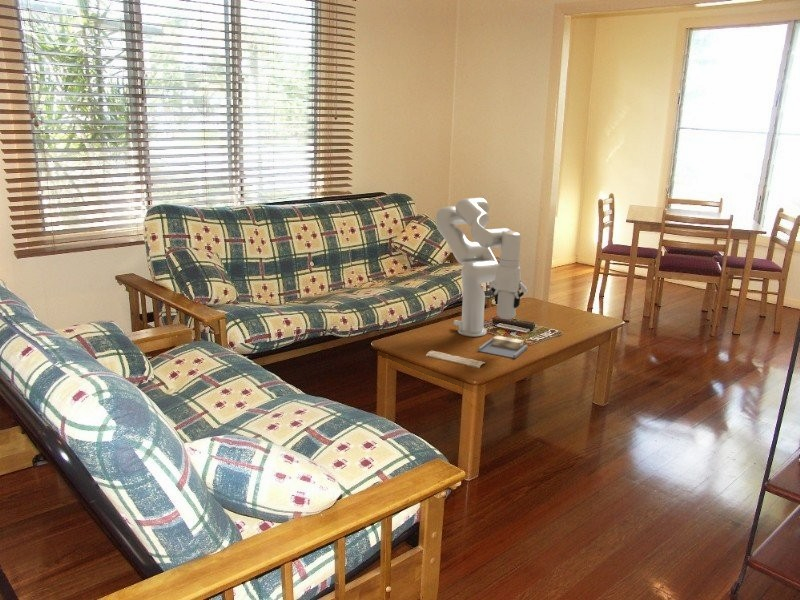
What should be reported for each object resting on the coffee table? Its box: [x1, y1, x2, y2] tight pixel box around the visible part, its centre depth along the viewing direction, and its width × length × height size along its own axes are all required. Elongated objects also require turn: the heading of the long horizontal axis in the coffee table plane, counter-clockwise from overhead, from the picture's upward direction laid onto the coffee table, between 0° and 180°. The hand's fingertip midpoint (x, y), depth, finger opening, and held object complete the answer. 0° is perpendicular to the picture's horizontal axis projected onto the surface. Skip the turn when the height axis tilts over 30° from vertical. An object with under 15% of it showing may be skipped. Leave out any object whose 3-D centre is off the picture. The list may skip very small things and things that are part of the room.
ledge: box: [492, 335, 524, 350], centre depth 294 cm, size 12×4×3 cm, turn 61°
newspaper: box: [425, 350, 487, 369], centre depth 280 cm, size 24×7×2 cm, turn 58°
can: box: [496, 290, 517, 320], centre depth 287 cm, size 8×8×12 cm
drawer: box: [477, 337, 529, 359], centre depth 290 cm, size 16×14×2 cm
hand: (506, 305), depth 287 cm, fingers closed on can, 7 cm apart
